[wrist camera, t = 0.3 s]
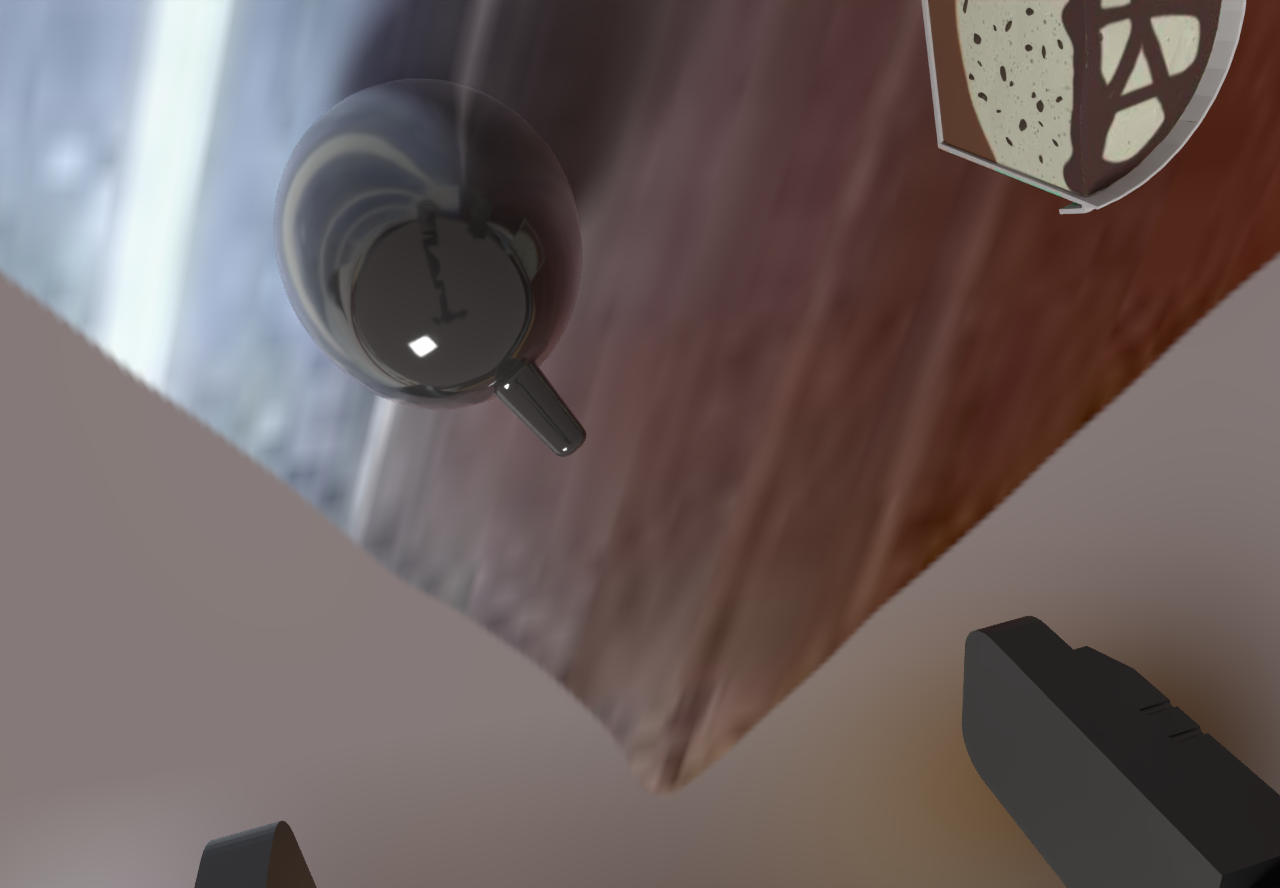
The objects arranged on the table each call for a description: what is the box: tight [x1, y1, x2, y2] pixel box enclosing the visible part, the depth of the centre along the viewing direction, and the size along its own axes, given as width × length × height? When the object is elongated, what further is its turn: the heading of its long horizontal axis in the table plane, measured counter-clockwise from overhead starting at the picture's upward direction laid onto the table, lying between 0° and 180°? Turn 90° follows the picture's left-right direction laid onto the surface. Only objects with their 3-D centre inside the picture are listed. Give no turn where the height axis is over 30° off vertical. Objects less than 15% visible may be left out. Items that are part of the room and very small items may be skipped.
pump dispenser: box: [274, 78, 586, 457], centre depth 28 cm, size 10×10×15 cm
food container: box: [922, 0, 1246, 214], centre depth 33 cm, size 12×6×10 cm, turn 16°
